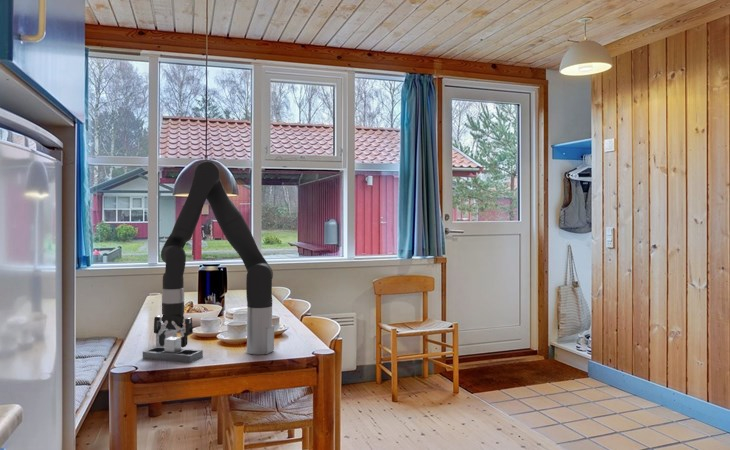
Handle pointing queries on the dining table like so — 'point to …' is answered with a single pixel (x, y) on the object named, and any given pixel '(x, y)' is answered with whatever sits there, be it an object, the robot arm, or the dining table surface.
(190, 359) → the grey compartment tray
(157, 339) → the medicine box
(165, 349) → the light grey block
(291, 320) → the dining table surface
